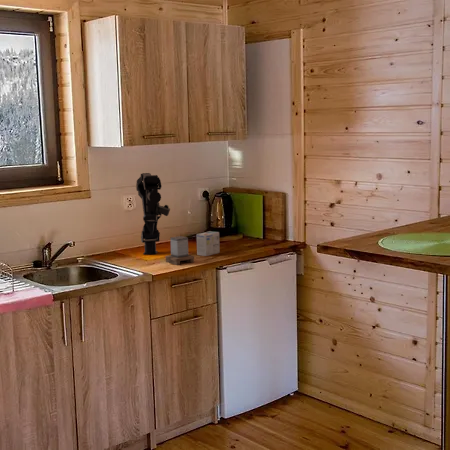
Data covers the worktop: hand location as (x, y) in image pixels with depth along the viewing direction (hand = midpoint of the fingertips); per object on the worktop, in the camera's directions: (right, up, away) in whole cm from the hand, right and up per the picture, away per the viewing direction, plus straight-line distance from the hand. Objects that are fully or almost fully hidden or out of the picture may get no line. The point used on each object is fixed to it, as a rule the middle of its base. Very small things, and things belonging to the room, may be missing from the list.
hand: (153, 232), depth 341 cm
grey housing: (+14, -11, -9) cm, 20 cm away
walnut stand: (+14, -14, -8) cm, 21 cm away
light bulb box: (+27, -11, +10) cm, 31 cm away
